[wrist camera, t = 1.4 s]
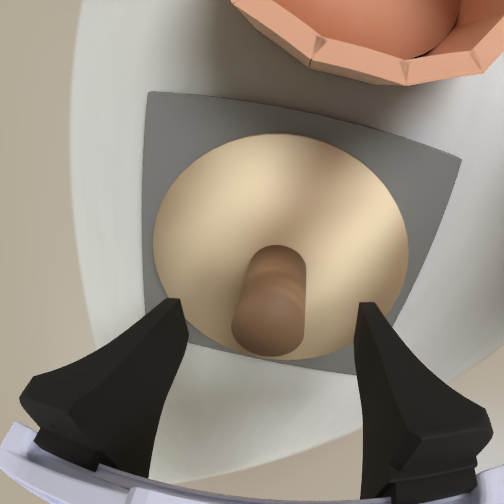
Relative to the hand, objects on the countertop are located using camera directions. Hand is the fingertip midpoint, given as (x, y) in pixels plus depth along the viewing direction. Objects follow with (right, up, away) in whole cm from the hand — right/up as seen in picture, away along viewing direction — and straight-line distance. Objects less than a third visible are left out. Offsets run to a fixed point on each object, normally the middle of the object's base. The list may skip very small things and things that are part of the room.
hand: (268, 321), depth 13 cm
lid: (+1, +2, +4) cm, 5 cm away
